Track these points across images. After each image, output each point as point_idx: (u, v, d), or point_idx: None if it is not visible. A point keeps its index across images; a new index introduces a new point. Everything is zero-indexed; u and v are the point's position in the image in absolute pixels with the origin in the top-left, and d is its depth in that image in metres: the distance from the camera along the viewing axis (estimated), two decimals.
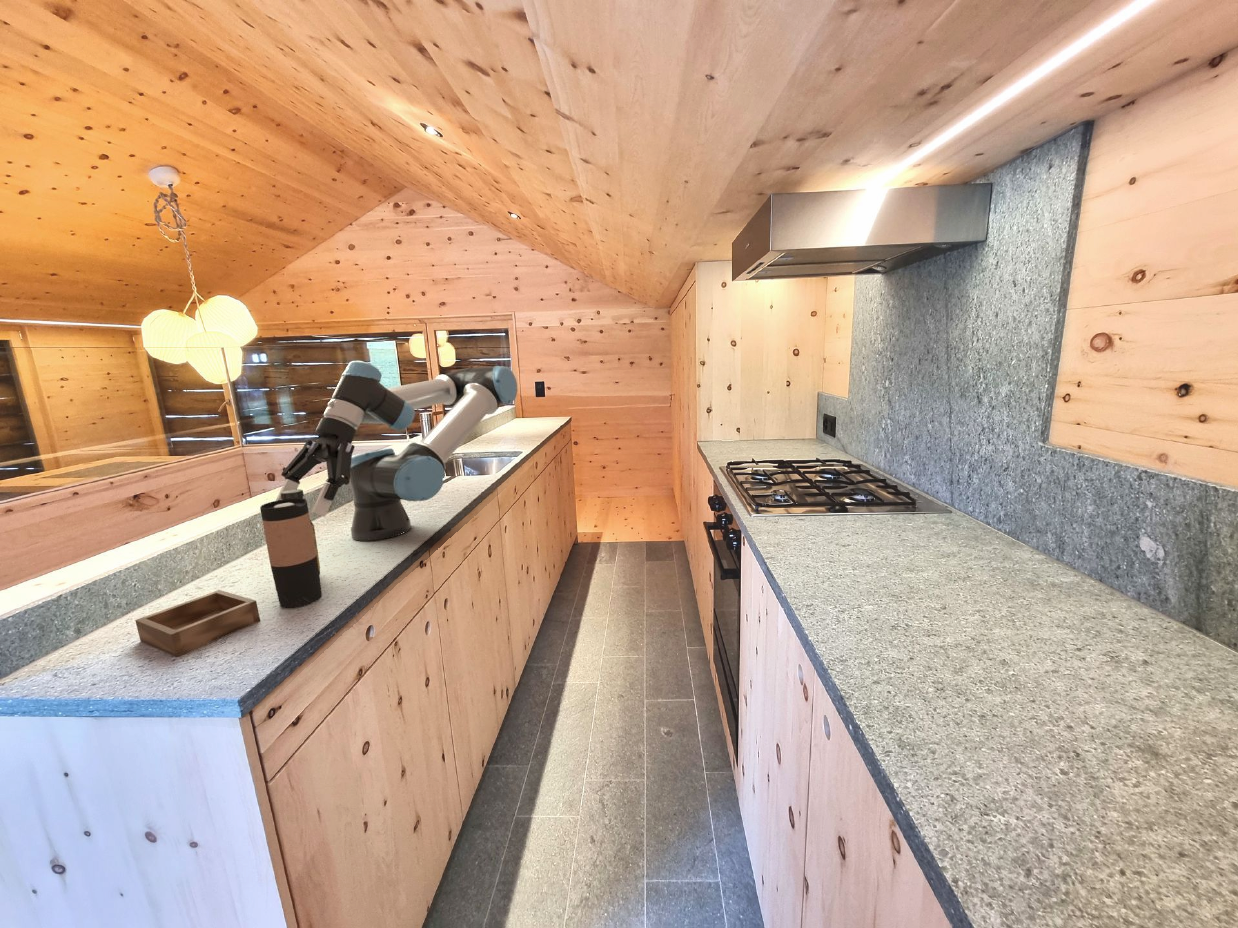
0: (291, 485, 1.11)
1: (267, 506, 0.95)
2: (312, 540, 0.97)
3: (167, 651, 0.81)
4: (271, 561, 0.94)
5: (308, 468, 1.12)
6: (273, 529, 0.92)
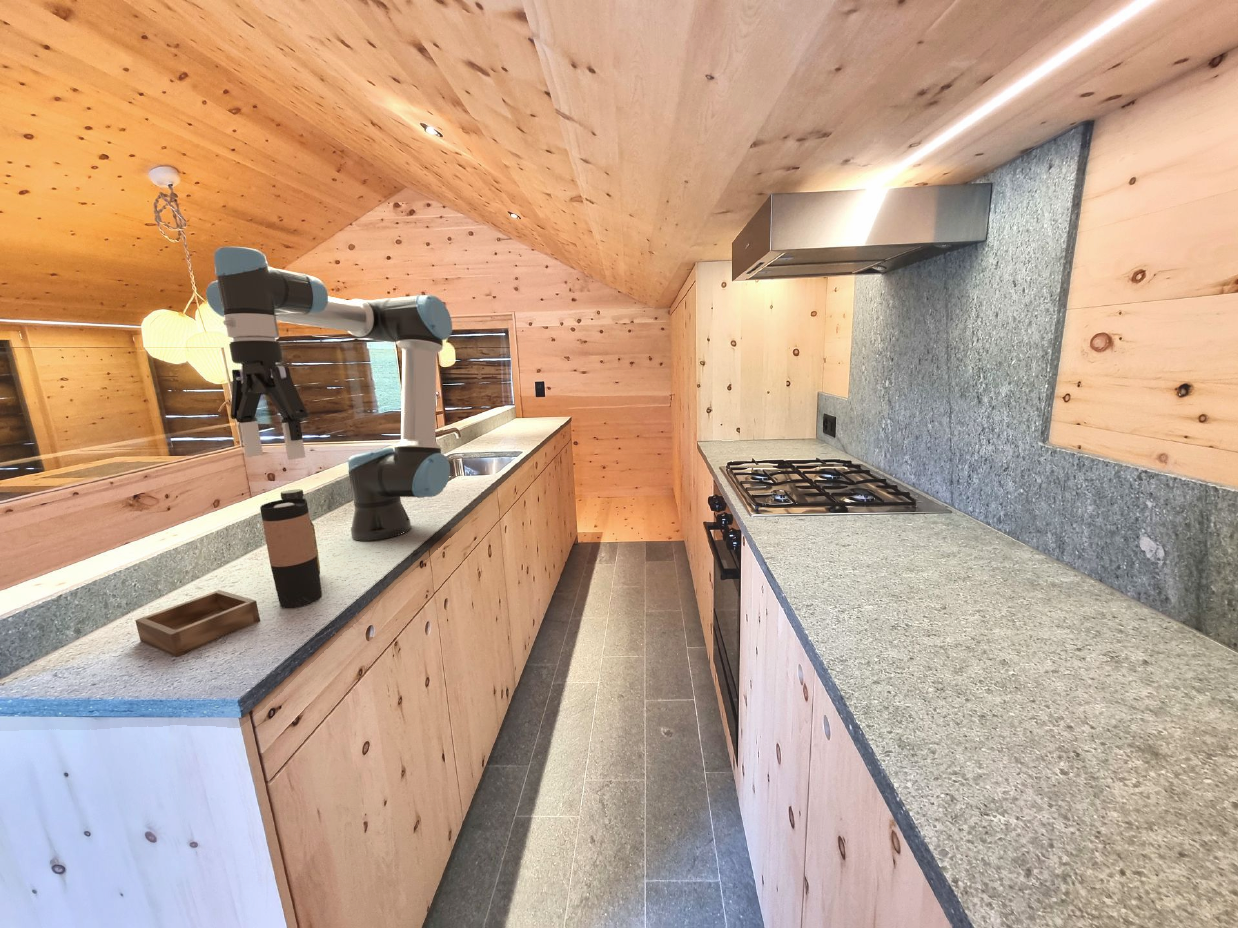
0: (249, 427, 0.95)
1: (267, 506, 0.95)
2: (312, 540, 0.97)
3: (167, 651, 0.81)
4: (271, 561, 0.94)
5: (255, 403, 0.94)
6: (273, 529, 0.92)
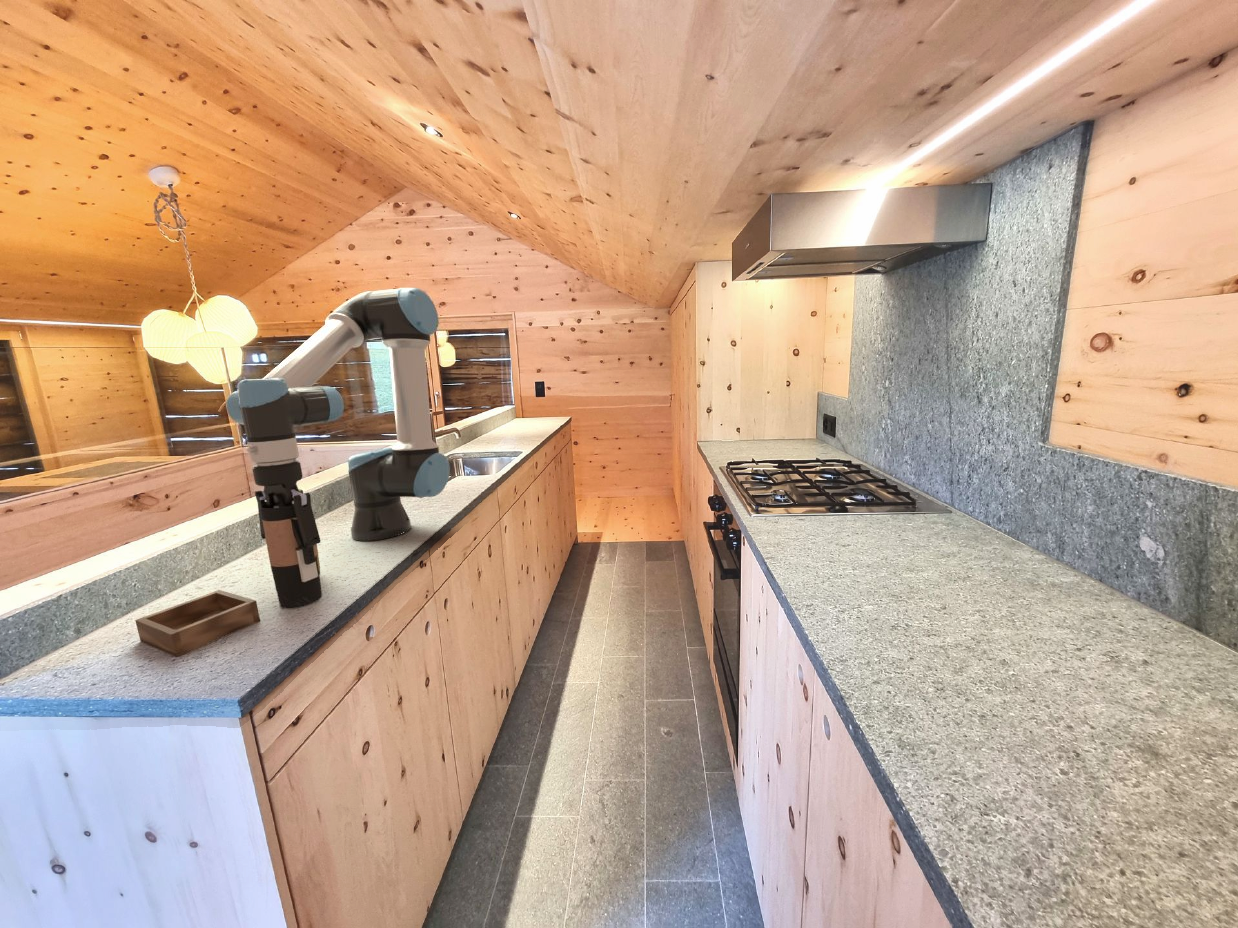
0: None
1: None
2: None
3: (167, 651, 0.81)
4: (271, 561, 0.94)
5: None
6: (273, 529, 0.92)
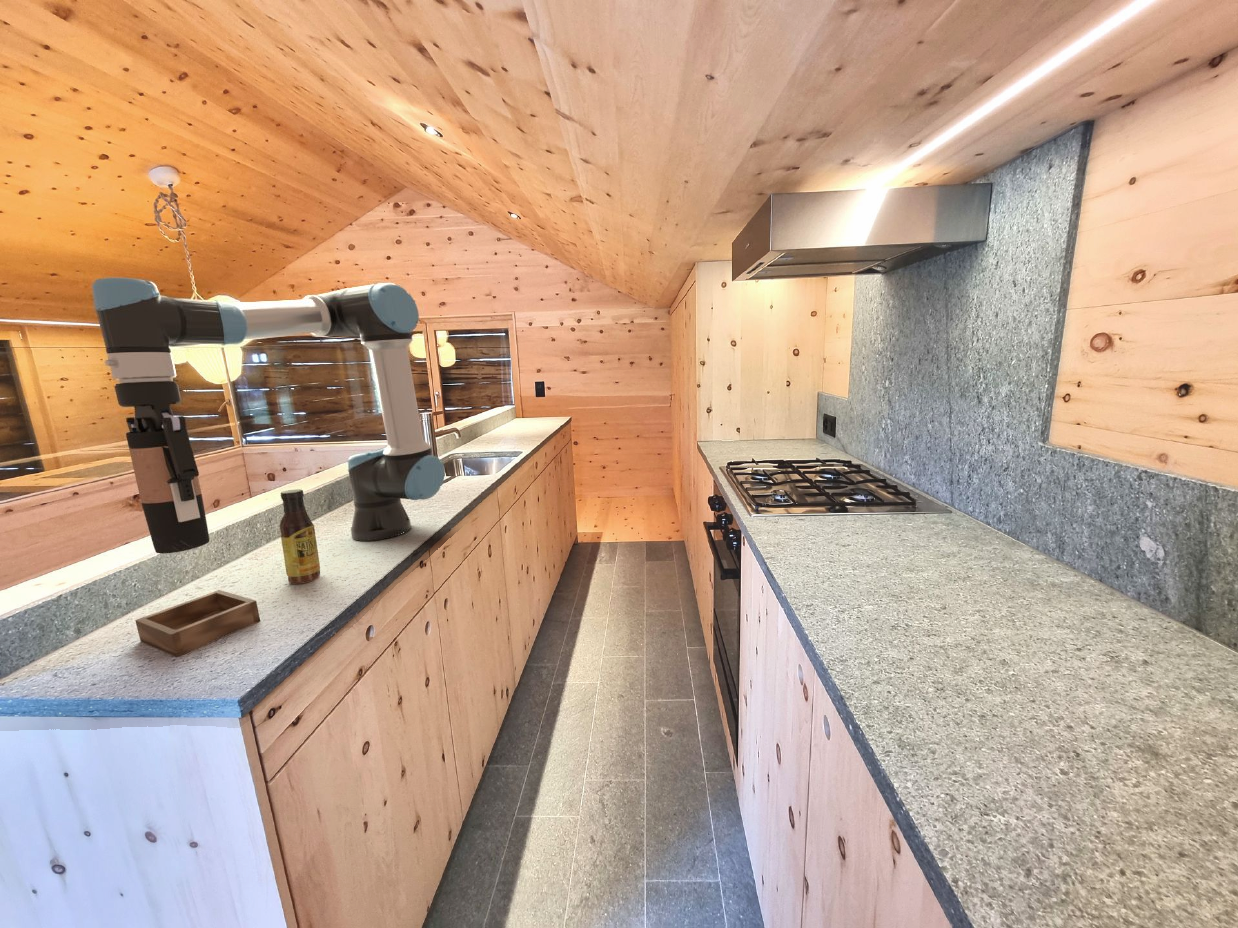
0: None
1: None
2: None
3: (167, 651, 0.81)
4: (141, 497, 0.80)
5: None
6: (140, 458, 0.79)
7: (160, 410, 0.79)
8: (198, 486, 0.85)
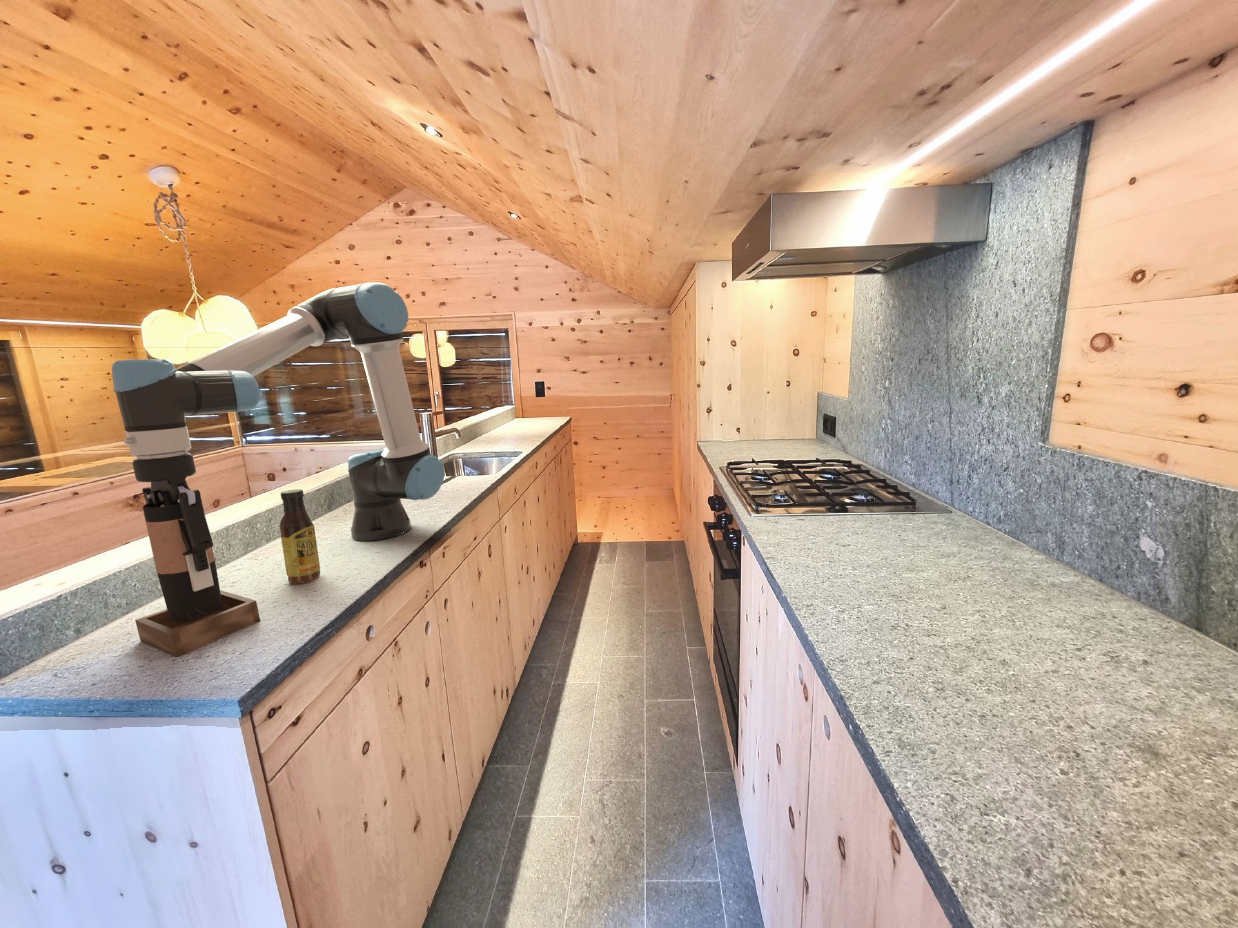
0: None
1: None
2: None
3: (167, 651, 0.81)
4: (156, 567, 0.83)
5: None
6: (156, 531, 0.81)
7: (176, 484, 0.81)
8: (212, 553, 0.87)
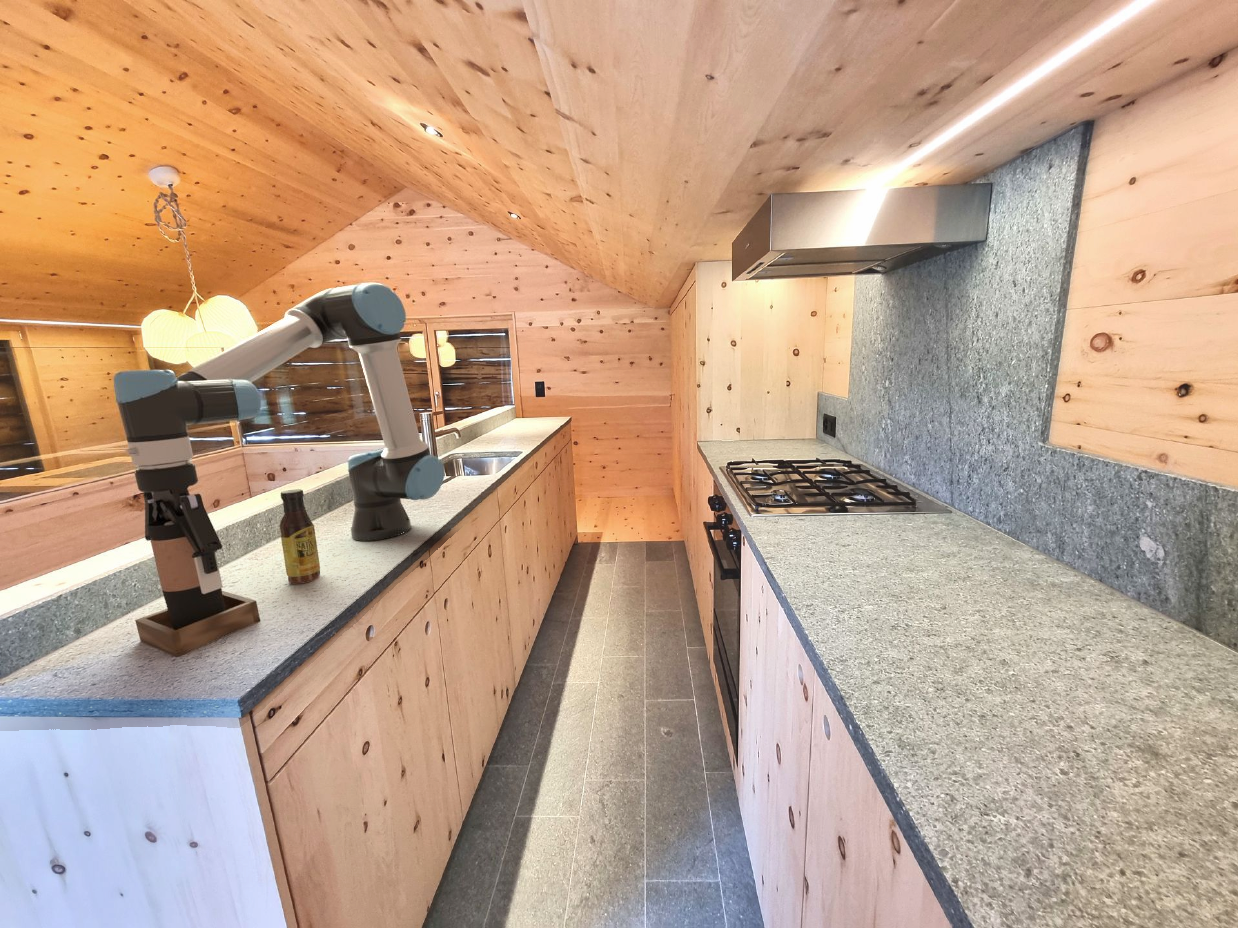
0: None
1: (159, 523, 0.85)
2: None
3: (167, 651, 0.81)
4: (161, 585, 0.83)
5: None
6: (161, 549, 0.81)
7: None
8: None
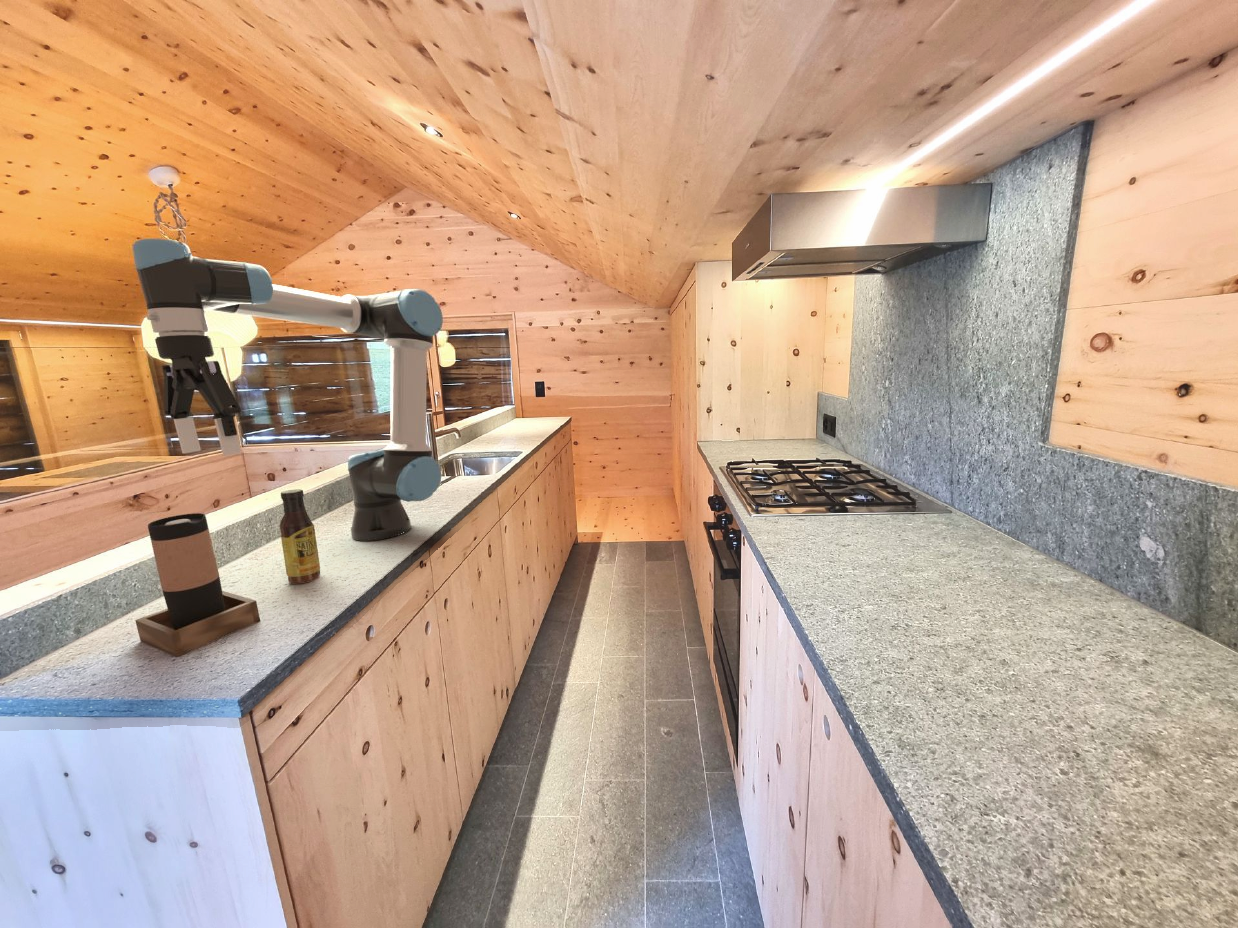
0: (184, 423, 0.94)
1: (159, 523, 0.85)
2: (212, 561, 0.87)
3: (167, 651, 0.81)
4: (162, 585, 0.83)
5: (188, 398, 0.93)
6: (161, 549, 0.81)
7: None
8: (216, 570, 0.88)
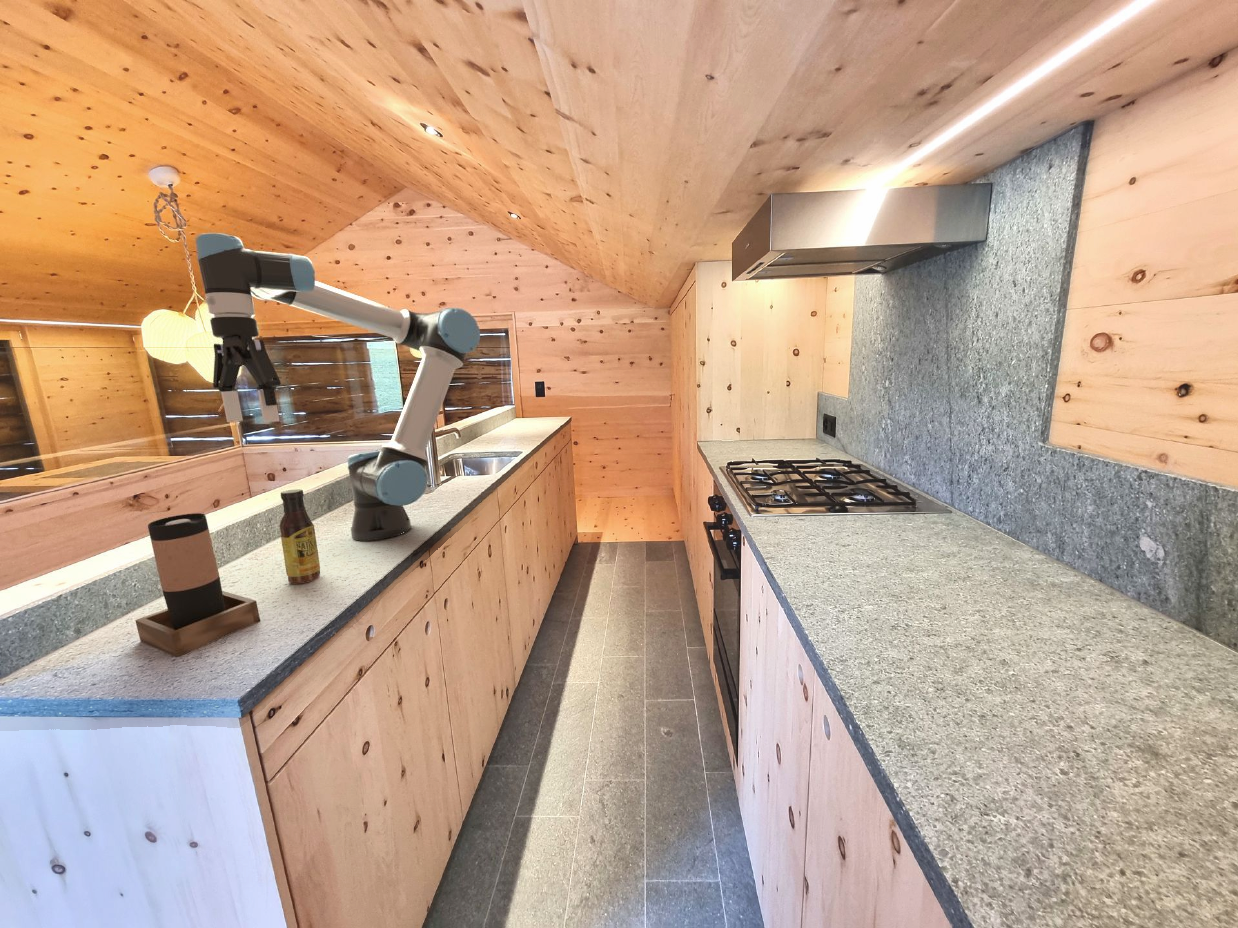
0: (230, 395, 1.07)
1: (159, 523, 0.85)
2: (212, 561, 0.87)
3: (167, 651, 0.81)
4: (162, 585, 0.83)
5: (234, 374, 1.06)
6: (161, 549, 0.81)
7: None
8: (216, 570, 0.88)
